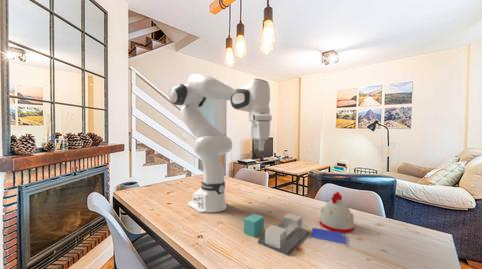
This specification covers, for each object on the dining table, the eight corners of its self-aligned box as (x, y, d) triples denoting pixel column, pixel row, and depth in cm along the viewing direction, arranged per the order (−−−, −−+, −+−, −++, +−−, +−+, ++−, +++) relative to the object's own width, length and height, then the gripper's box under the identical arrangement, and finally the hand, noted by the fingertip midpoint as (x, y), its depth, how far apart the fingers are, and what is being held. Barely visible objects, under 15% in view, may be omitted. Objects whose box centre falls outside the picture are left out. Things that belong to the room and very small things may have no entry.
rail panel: (257, 243, 77) (258, 227, 77) (282, 224, 93) (282, 211, 93) (287, 255, 70) (287, 237, 70) (308, 233, 85) (309, 218, 85)
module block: (243, 233, 84) (244, 218, 84) (253, 227, 90) (253, 213, 90) (253, 237, 81) (254, 222, 81) (263, 231, 87) (263, 216, 87)
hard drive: (344, 232, 84) (312, 227, 89) (346, 242, 76) (311, 235, 81) (344, 236, 84) (312, 230, 89) (346, 247, 76) (311, 239, 81)
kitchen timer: (313, 224, 94) (314, 191, 93) (328, 216, 103) (329, 186, 102) (345, 236, 83) (346, 199, 83) (359, 226, 92) (360, 193, 92)
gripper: (248, 118, 98) (247, 147, 98) (256, 115, 78) (256, 152, 78) (261, 118, 99) (260, 147, 99) (273, 115, 78) (272, 152, 79)
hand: (258, 149), depth 88 cm, fingers open, 8 cm apart
